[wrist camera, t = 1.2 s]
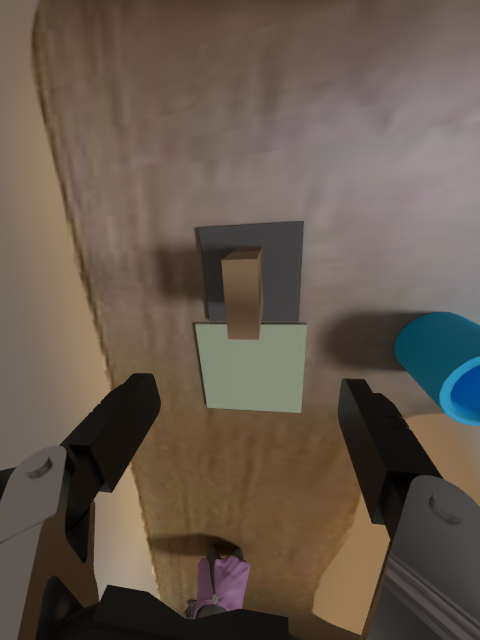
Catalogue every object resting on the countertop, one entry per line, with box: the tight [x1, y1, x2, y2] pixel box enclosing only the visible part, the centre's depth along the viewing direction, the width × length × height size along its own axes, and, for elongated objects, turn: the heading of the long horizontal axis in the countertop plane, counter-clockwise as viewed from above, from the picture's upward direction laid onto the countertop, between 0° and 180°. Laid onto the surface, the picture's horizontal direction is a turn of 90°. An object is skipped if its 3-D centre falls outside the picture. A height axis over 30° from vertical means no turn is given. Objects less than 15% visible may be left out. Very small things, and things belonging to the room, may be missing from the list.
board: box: [195, 323, 307, 413], centre depth 31 cm, size 14×14×1 cm
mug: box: [394, 312, 480, 426], centre depth 23 cm, size 12×8×8 cm
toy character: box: [193, 546, 251, 619], centre depth 42 cm, size 12×10×20 cm
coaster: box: [199, 221, 304, 321], centre depth 26 cm, size 11×11×1 cm
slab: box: [221, 247, 263, 340], centre depth 22 cm, size 6×3×9 cm, turn 3°
